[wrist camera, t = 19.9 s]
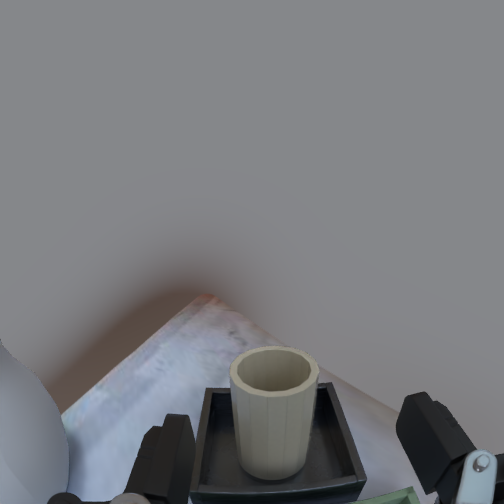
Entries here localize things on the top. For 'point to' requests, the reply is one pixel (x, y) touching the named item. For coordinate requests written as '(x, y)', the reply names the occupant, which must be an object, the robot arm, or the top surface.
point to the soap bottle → (29, 437)
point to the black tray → (284, 490)
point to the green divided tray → (394, 498)
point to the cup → (273, 409)
